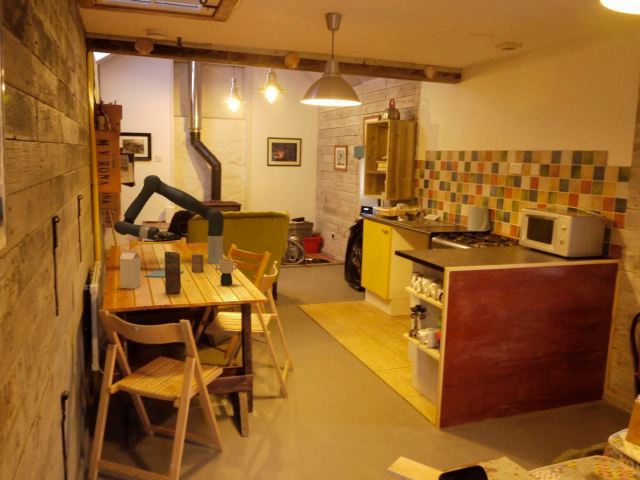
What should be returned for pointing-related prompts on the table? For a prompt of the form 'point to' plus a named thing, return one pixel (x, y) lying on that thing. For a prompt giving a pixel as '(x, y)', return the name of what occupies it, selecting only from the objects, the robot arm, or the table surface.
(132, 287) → the milk carton
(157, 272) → the slate-blue mat
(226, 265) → the character mug
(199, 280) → the table surface
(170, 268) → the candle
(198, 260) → the walnut block
